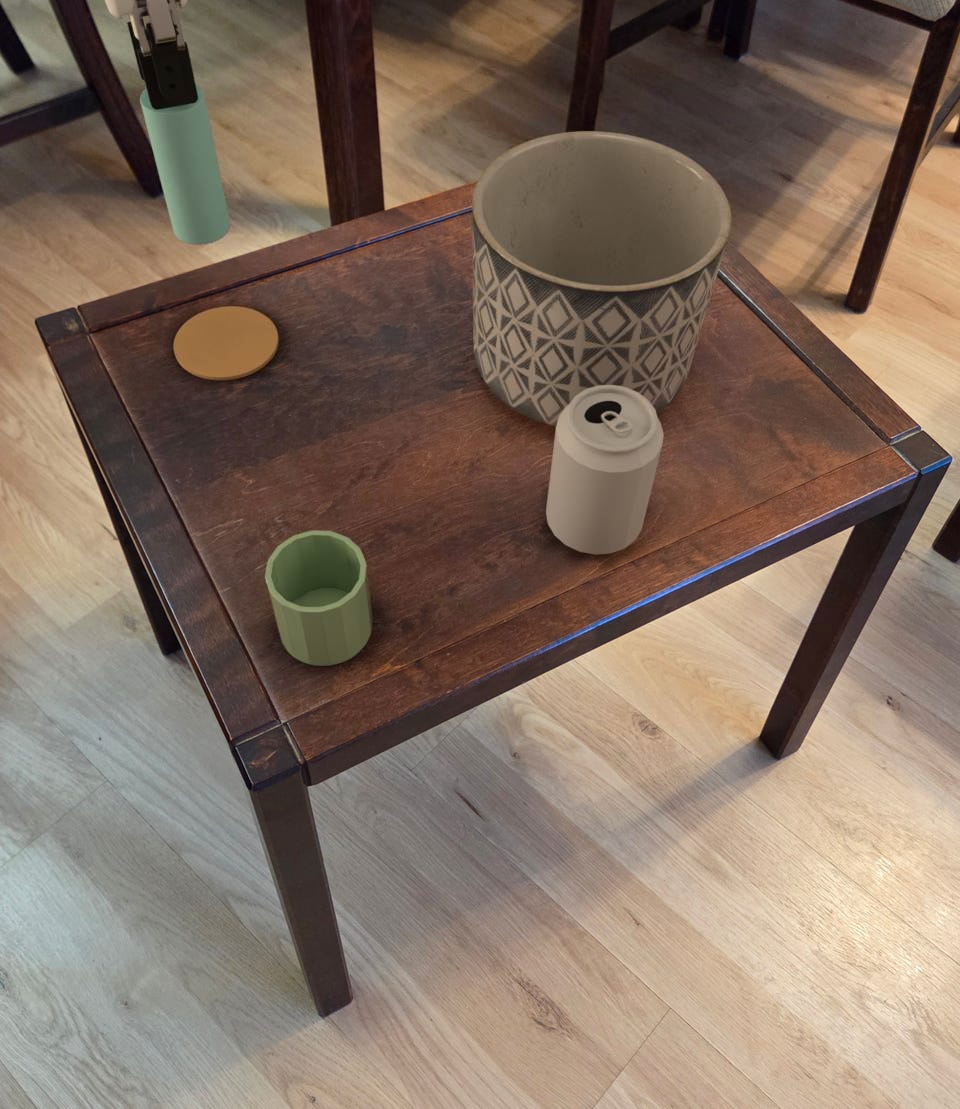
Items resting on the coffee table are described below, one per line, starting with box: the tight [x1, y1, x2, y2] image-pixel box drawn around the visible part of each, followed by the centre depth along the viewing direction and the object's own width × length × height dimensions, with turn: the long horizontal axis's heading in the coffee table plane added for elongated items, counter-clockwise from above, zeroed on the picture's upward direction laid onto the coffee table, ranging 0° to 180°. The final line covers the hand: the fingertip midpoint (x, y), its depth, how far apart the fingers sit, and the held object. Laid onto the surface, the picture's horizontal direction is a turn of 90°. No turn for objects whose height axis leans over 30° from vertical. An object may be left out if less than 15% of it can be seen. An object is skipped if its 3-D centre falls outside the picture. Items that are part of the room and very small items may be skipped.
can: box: [545, 385, 665, 555], centre depth 77 cm, size 8×8×12 cm
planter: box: [471, 130, 732, 428], centre depth 85 cm, size 19×19×16 cm
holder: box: [264, 529, 373, 667], centre depth 73 cm, size 7×7×7 cm
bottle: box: [129, 15, 231, 246], centre depth 76 cm, size 4×4×17 cm
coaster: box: [173, 305, 280, 381], centre depth 92 cm, size 9×9×1 cm
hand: (169, 87), depth 73 cm, fingers closed on bottle, 3 cm apart
